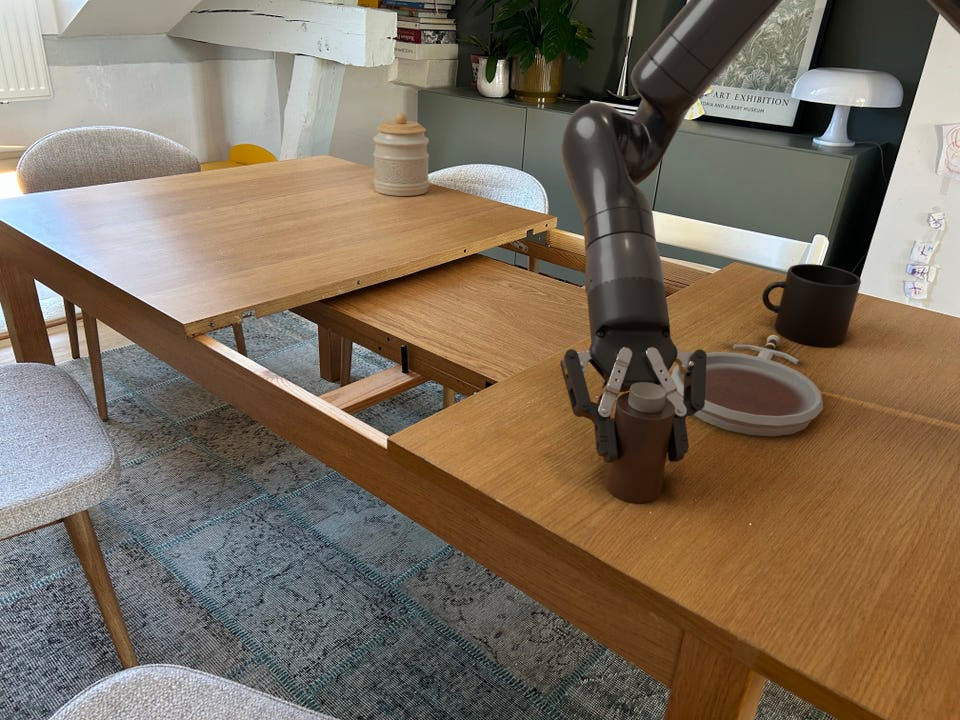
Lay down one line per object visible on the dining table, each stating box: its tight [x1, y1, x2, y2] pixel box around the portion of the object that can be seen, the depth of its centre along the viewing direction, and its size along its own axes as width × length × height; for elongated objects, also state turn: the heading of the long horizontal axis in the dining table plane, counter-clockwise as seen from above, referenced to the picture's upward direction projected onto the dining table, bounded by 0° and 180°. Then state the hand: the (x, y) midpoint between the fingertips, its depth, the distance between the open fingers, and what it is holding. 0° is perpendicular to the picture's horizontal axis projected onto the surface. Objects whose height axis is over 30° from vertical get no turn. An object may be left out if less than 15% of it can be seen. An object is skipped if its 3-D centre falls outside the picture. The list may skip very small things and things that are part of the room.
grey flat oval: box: [670, 334, 824, 437], centre depth 90 cm, size 17×3×28 cm
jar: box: [372, 112, 430, 197], centre depth 170 cm, size 13×13×18 cm
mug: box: [762, 263, 862, 348], centre depth 104 cm, size 9×12×9 cm
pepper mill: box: [604, 382, 675, 504], centre depth 68 cm, size 5×5×10 cm
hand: (644, 460), depth 66 cm, fingers open, 5 cm apart
